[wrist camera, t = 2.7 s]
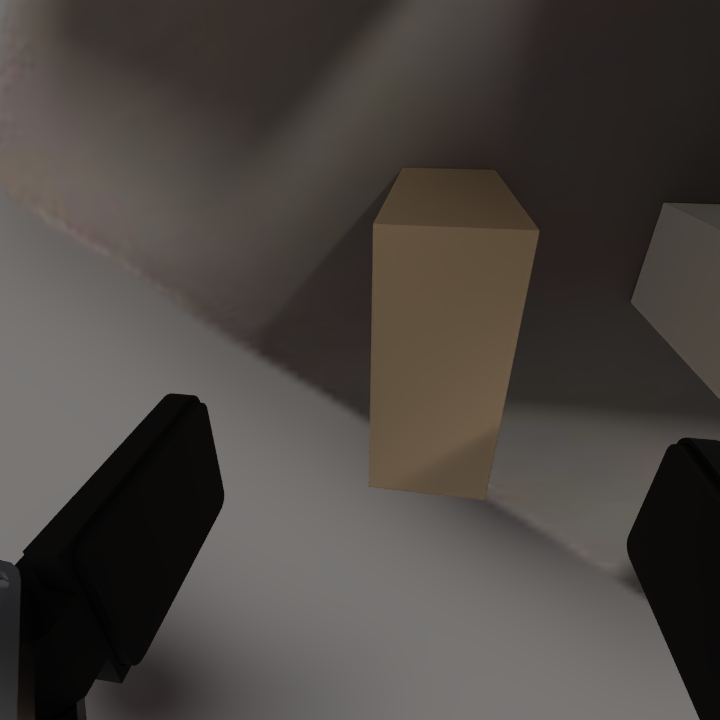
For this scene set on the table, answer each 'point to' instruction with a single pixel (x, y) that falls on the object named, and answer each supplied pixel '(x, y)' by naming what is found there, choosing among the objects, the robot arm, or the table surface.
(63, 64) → the table surface
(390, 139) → the table surface
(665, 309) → the white frame with rod
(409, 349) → the tan c-channel block
